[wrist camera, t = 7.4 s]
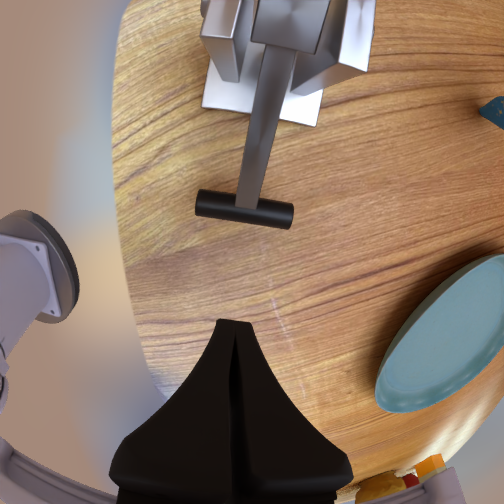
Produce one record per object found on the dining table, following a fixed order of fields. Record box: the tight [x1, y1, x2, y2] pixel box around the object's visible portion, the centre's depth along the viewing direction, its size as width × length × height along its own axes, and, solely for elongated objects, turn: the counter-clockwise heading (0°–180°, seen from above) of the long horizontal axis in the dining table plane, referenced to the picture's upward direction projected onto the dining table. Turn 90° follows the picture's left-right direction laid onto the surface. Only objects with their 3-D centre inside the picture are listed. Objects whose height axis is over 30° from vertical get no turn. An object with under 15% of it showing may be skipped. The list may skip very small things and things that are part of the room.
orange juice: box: [415, 454, 446, 483], centre depth 49 cm, size 8×9×20 cm
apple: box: [402, 474, 420, 489], centre depth 61 cm, size 11×11×12 cm
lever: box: [195, 0, 331, 230], centre depth 10 cm, size 12×5×2 cm, turn 170°
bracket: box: [199, 0, 376, 128], centre depth 9 cm, size 8×7×10 cm
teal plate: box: [375, 253, 504, 413], centre depth 24 cm, size 24×24×3 cm
